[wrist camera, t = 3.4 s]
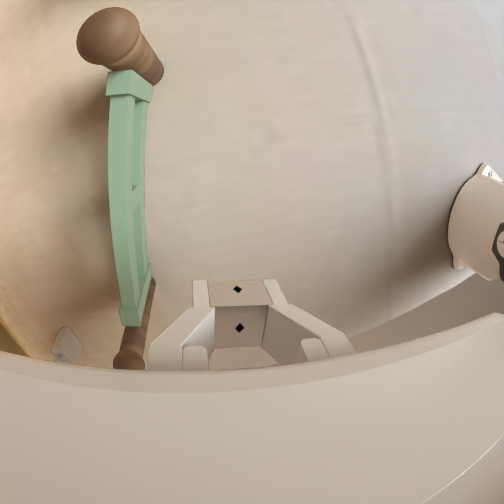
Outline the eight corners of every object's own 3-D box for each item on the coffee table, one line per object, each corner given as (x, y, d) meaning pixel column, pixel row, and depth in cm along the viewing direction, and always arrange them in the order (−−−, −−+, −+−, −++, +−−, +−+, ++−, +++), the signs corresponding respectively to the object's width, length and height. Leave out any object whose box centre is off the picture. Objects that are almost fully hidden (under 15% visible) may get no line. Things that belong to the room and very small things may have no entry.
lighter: (59, 328, 30) (41, 370, 23) (68, 326, 30) (49, 369, 23) (87, 362, 33) (75, 404, 26) (95, 360, 33) (84, 404, 26)
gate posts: (167, 55, 19) (138, -7, 7) (162, 293, 30) (150, 394, 18) (132, 57, 19) (74, 5, 6) (133, 292, 29) (109, 391, 17)
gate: (152, 85, 20) (131, 69, 13) (151, 276, 28) (140, 326, 21) (135, 86, 19) (108, 71, 12) (137, 276, 27) (122, 325, 20)
